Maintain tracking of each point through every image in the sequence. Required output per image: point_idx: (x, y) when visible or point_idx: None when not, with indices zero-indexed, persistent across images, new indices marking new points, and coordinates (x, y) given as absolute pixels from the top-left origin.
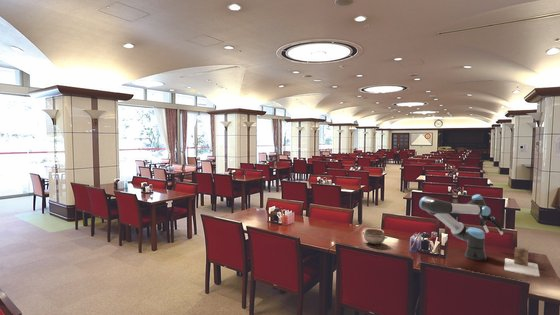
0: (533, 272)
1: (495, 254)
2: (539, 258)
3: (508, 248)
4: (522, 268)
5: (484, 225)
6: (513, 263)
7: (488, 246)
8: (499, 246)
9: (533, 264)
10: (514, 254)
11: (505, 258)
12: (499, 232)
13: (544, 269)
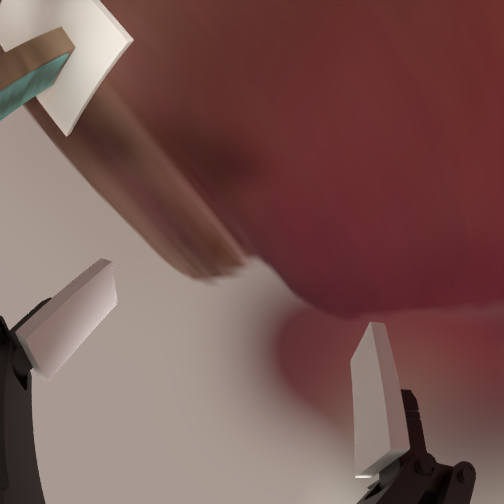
0: (6, 35)
1: (238, 66)
2: (143, 228)
3: (301, 281)
4: (25, 20)
5: (381, 468)
6: (61, 22)
7: (404, 243)
8: (352, 286)
9: (59, 114)
10: (9, 50)
11: (124, 40)
12: (82, 283)
13: (39, 112)
